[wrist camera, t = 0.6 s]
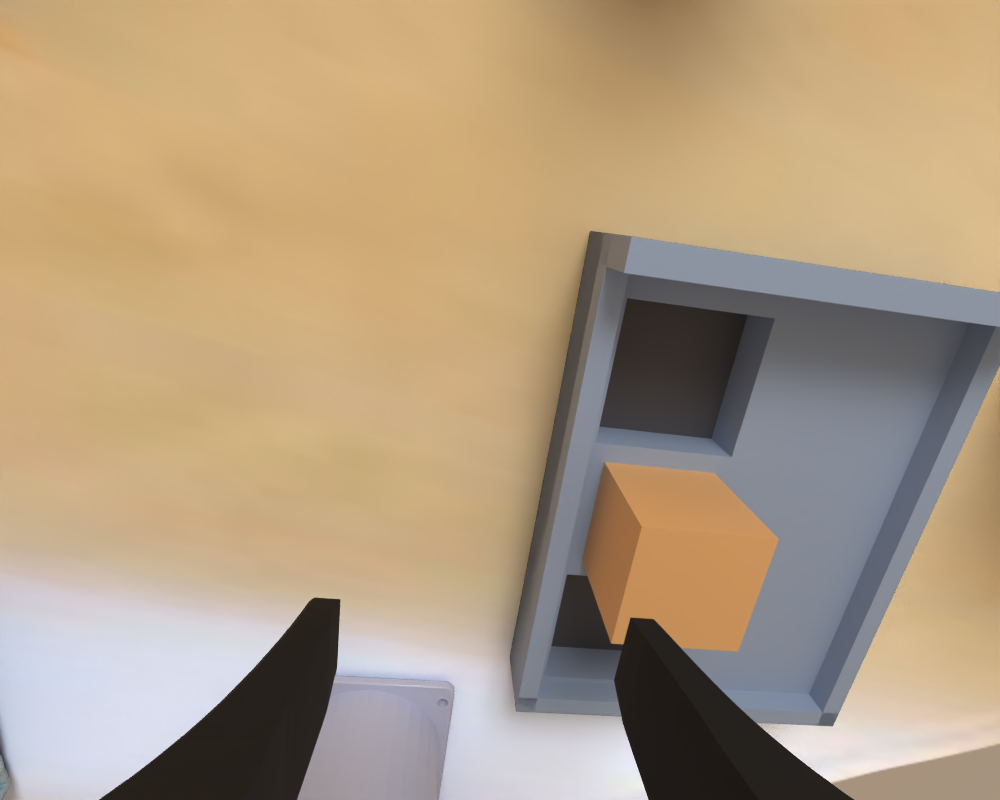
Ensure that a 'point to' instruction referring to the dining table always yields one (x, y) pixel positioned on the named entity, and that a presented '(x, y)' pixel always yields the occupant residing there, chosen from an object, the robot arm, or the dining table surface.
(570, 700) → the tray
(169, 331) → the dining table surface
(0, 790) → the lunch bag
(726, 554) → the block
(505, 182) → the dining table surface
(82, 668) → the dining table surface
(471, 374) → the dining table surface
